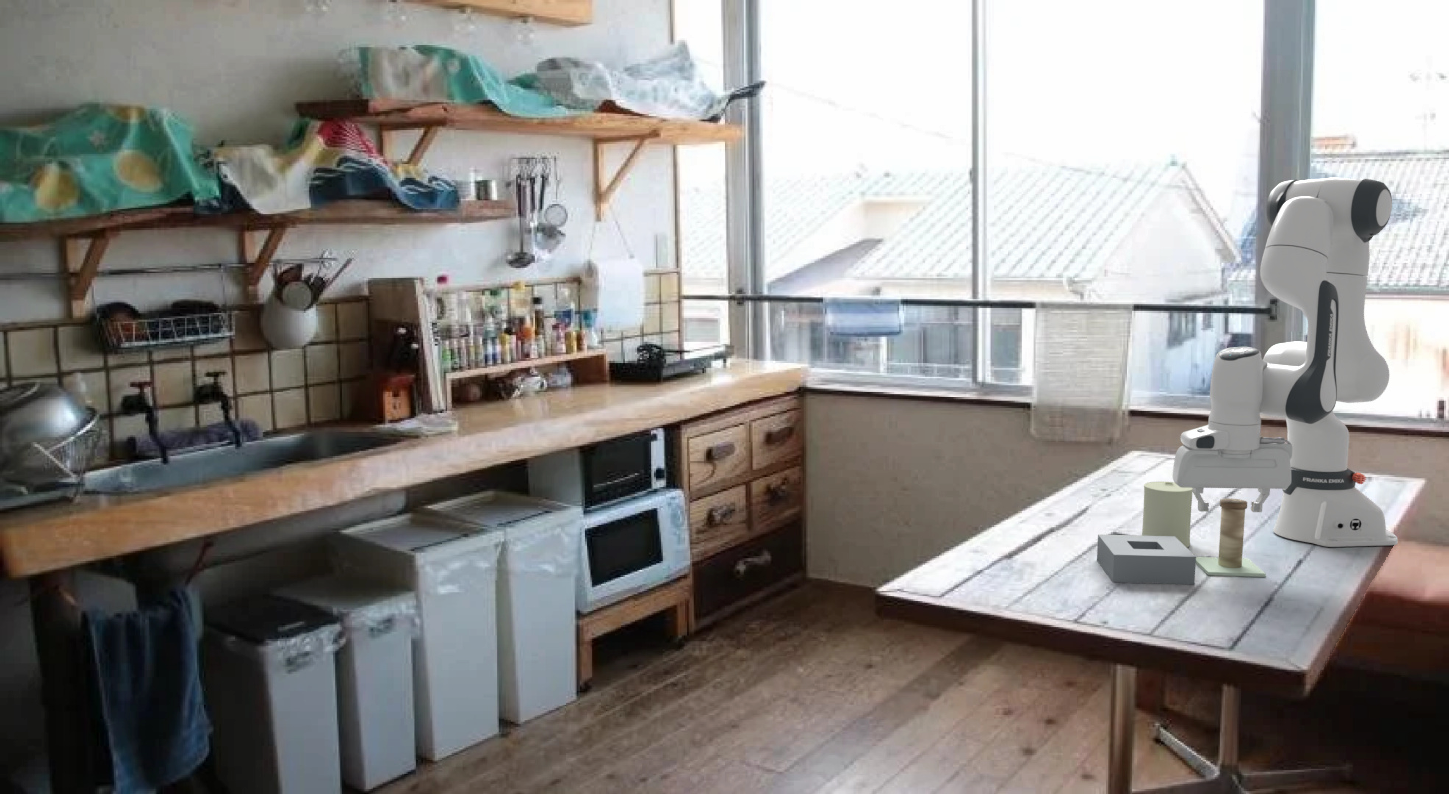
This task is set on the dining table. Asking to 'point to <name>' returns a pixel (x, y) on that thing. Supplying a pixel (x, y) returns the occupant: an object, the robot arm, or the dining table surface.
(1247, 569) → the mat
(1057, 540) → the dining table surface
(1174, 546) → the socket
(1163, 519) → the can
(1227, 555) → the plug
